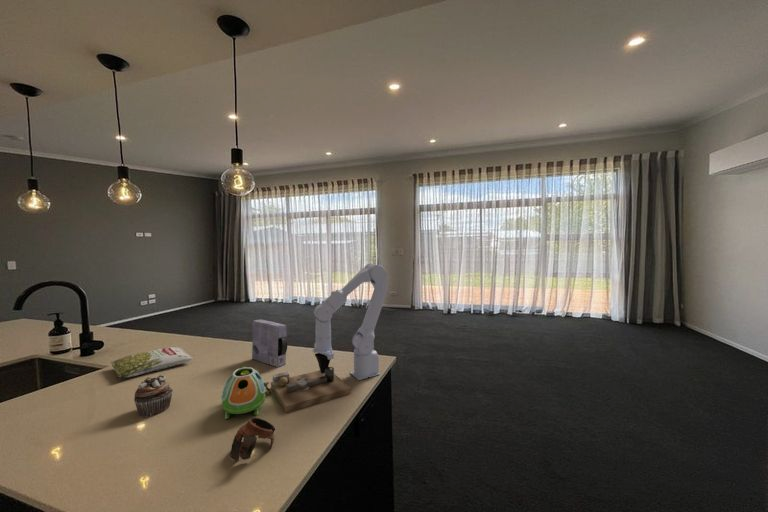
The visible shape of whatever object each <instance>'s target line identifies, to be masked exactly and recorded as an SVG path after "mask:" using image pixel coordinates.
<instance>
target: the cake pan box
mask: <svg viewBox="0 0 768 512" xmlns="http://www.w3.org/2000/svg"><path fill="white" fill-rule="evenodd" d="M251 342H252V344H251V345H252V347H251V348H252V349H251V358H252V359H251V360H255V361H257V362H261V363H262V364H265V363H266V365H269V364H270V366H273V367H276V368H280V367H282V365H283V366H286V364H287V362H286V361H287V351H288V339H287V325H286V324H282V323H278V322H276V321H275V322H274V321H269V320H266V319H262V318H261V319H256V320H252V340H251ZM279 366H280V367H279Z"/></svg>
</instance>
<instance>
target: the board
mask: <svg viewBox="0 0 768 512" xmlns="http://www.w3.org/2000/svg"><path fill="white" fill-rule="evenodd" d="M323 376H325V373H323V374H322V373H321V372H320V369H319V370H315V371H311V372H307V373H303V374H299V375H298V374H297V375H295V376H292V377H290V373H289V372H288V371H285V372H284V371H283V372H280V373H276V374H272V381H271V382H270V388H271V391H272V392H273V393H274V395H275V397H276V399H277V400H278V402H279V403H280V405H282V406H281V407H282V409H283V411H284V412H285V413H286V414H288V413H290V412H293V411H297V410H300V409H304V408H307V407H310V406H313V405H317V404H320V403H323V402H327V401H329V400H334V399H336V398H340V397H343V396H345V395H350V394H351V393H352V392H351V387H350V386H349V385H348V384H347V383H346V382H344V380H343V379H342V378H340V377H339V376H338V375H337V374H335V373H334V381H332V382H325V383H321V384H317V385H314V386H310V387H307V388H306V389H303V390H296V391H292V392H288V391H287V384H291V383H295V382H297V379H298V378H301V377H306V378H307V379H308V380H311V379H315V378H319V377H323Z"/></svg>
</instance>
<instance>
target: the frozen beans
mask: <svg viewBox="0 0 768 512" xmlns="http://www.w3.org/2000/svg"><path fill="white" fill-rule="evenodd" d="M192 360H194V357H192V356H191V355H190V354H189V353H187V352H186V351H185V350H184V349H183V348H182V347H181V346H177V347H176V346H169V347H168V346H167V347H162V348H158V349H157V348H156V349H153V350H149V351H144V352H139V353H135V354H130V355H127V356H124V357H121V358H118V359H116V360H113V361H110V363H111V366H112V368H113V369H114V371H115V373H116V375H117V376H118V378H132V377H136V376H140V375H143V374H144V375H145V374H149V373H152V372H157V371H161V370H163V369H168V368H171V367H172V368H173V367H176V366H179V365H182V364H183V365H184V364H186V363H188V362H189V361H192Z"/></svg>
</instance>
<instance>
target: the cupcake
mask: <svg viewBox="0 0 768 512" xmlns="http://www.w3.org/2000/svg"><path fill="white" fill-rule="evenodd" d="M166 379H167V377H165V376H163V375H159V376H157V377H153V378H152V377H146V378H145V379H144V381H142V382H140V384H139V385H138V387H137V388H136V390H135V393H134V399H133V401H134V404H135V406H136V411H137V415H138V414H139V417H141V416H142V417H143V418H146V416H148V417H153V415H154V416H157V415H160V414H162V413H164V412H166V411H167V410H169V408H170V407H171V401H172V396H173V391H174V390H173V389H172V387H170V383H169V382H167V381H166Z"/></svg>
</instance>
